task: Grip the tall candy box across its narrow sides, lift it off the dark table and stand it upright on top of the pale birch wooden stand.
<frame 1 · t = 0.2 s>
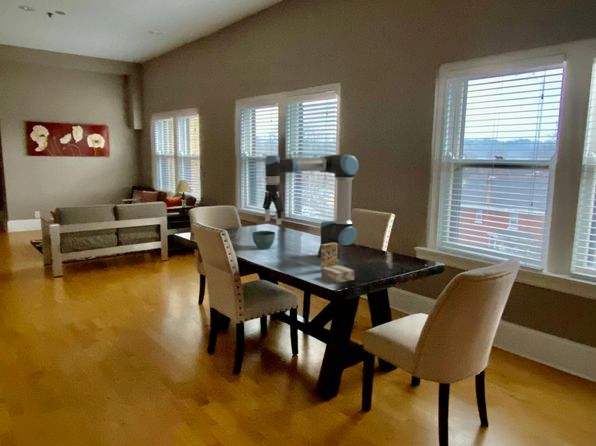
hand: (273, 222, 239), 28 cm above the table, tool pointing down, fingers open, 13 cm apart
candy box: (329, 270, 247), on the table
flower pot: (263, 248, 305), on the table
birch stand: (337, 278, 230), on the table
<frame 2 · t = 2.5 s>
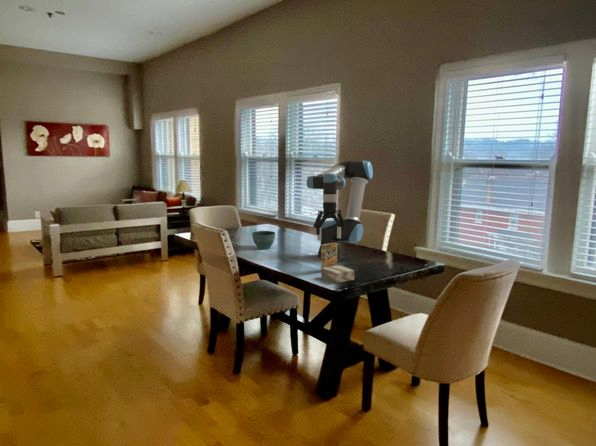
hand: (329, 239, 244), 18 cm above the table, tool pointing down, fingers open, 13 cm apart
nothing on the table moved.
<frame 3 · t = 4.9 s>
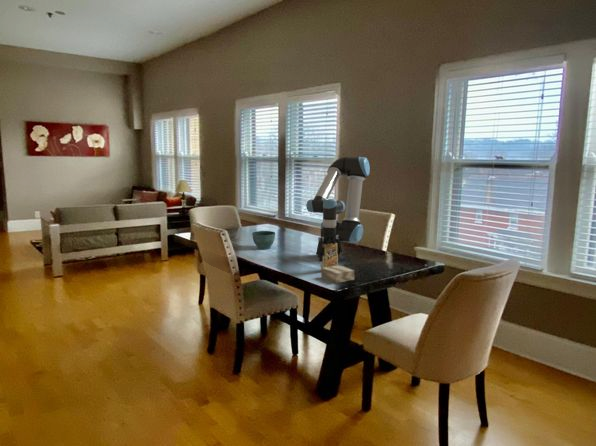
hand: (329, 265, 246), 2 cm above the table, tool pointing down, fingers closed on candy box, 9 cm apart
candy box: (329, 270, 247), on the table, touching gripper
everything else where it was.
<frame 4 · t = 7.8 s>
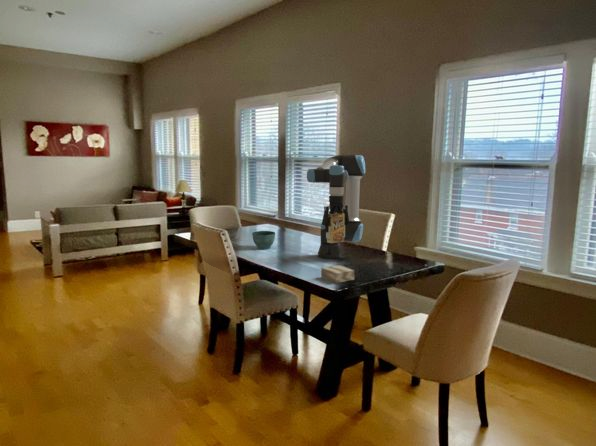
hand: (335, 237, 230), 21 cm above the table, tool pointing down, fingers closed on candy box, 9 cm apart
candy box: (335, 242, 231), point 19 cm above the table, touching gripper
everything else where it was.
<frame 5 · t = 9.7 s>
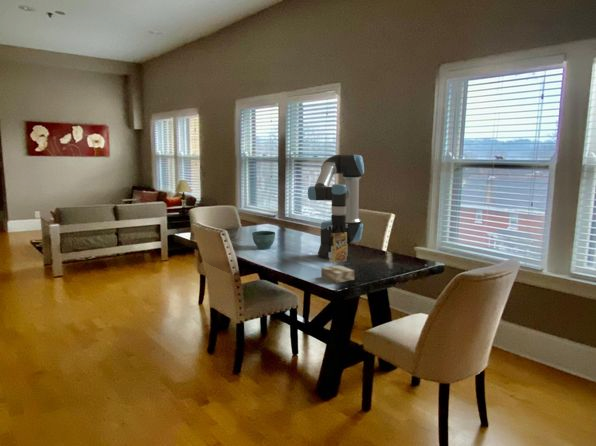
hand: (338, 256, 228), 12 cm above the table, tool pointing down, fingers closed on candy box, 9 cm apart
candy box: (337, 261, 229), point 9 cm above the table, touching gripper
everything else where it was.
when the fingers open (9 cm above the table, at t = 11.2 s): candy box drops 1 cm, resting on birch stand.
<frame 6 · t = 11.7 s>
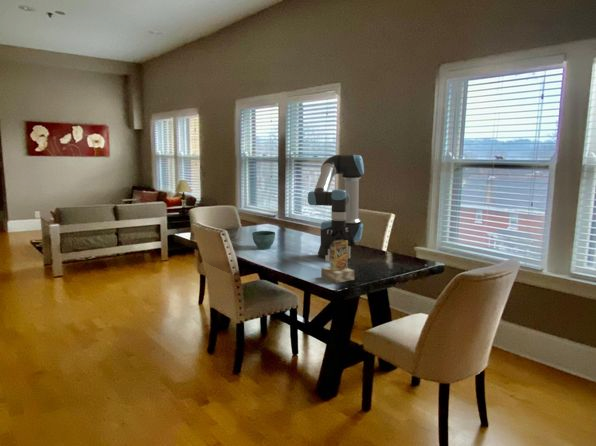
hand: (337, 259, 229), 10 cm above the table, tool pointing down, fingers open, 13 cm apart
candy box: (338, 269, 230), point 5 cm above the table, touching birch stand
everything else where it was.
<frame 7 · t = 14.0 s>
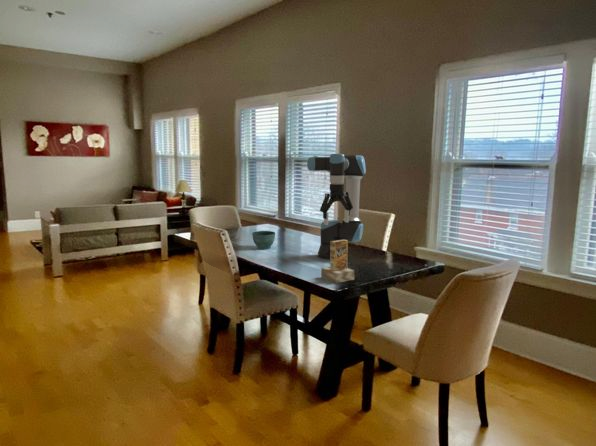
hand: (336, 223, 231), 29 cm above the table, tool pointing down, fingers open, 13 cm apart
nothing on the table moved.
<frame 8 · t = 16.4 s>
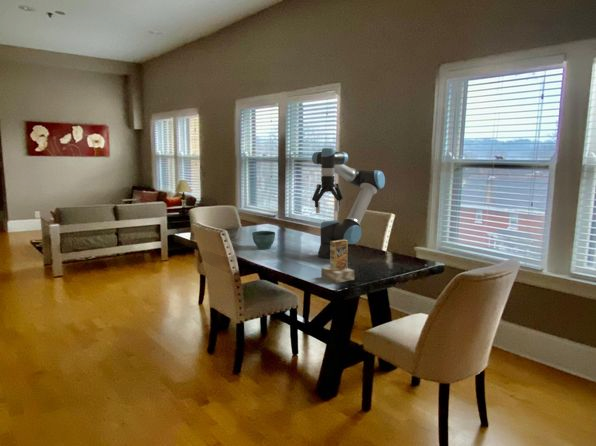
hand: (327, 212, 252), 32 cm above the table, tool pointing down, fingers open, 13 cm apart
nothing on the table moved.
at the end: candy box inside the target area (0.6 cm from its centre), point 4.8 cm above the table; candy box tilted 0°; the gripper is holding nothing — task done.
